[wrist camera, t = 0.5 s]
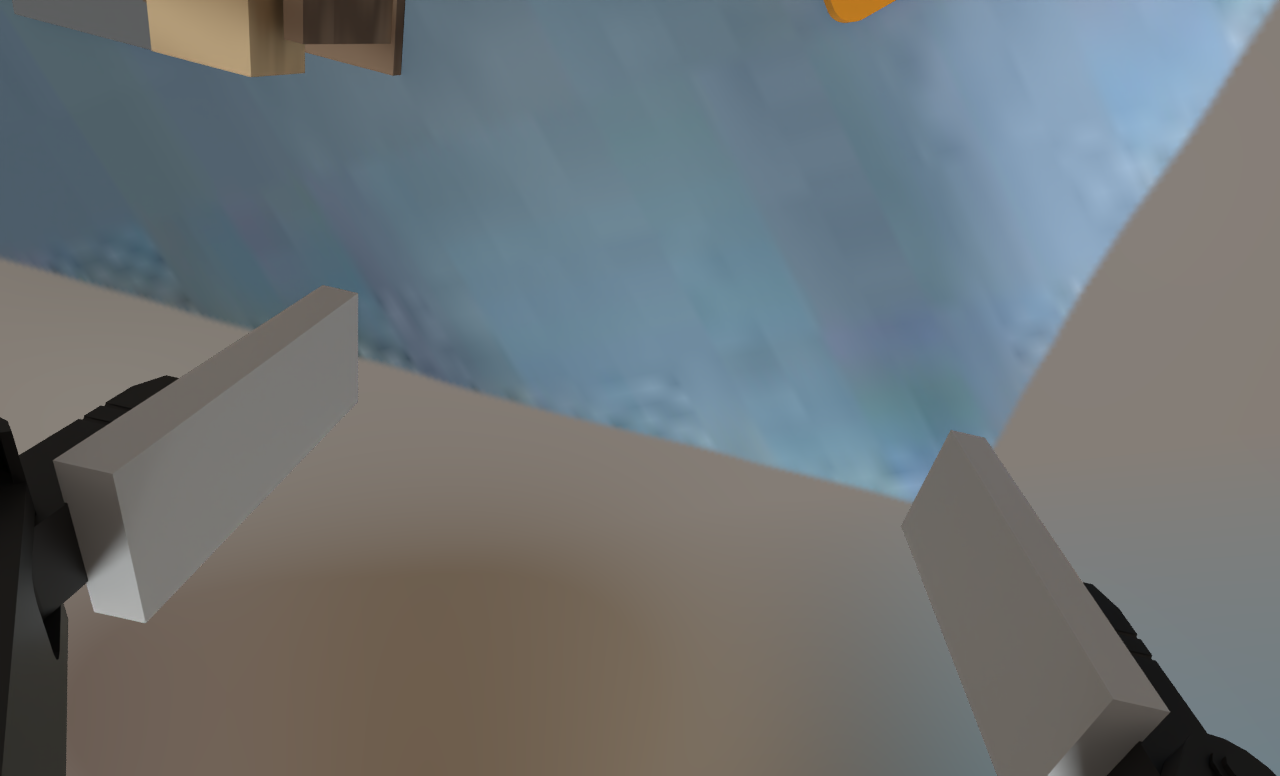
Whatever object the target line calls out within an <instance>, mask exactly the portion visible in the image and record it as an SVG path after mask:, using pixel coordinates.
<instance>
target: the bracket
mask: <svg viewBox="0 0 1280 776" xmlns="http://www.w3.org/2000/svg"><path fill="white" fill-rule="evenodd" d="M143 2H146V3H147V1H146V0H143ZM404 10H405V0H283V20H284V39H285V40H289V41H293V42H296V43H300V44H305V52H306V53H310V54H314V55H317V56H321V57H325V58H329V59H333V60H336V61H340V62H344V63H348V64H351V65H355V66H359V67H363V68H366V69H370V70H374V71H378V72H381V73H385V74H389V75H393V76H394V75H401V61H402V44H403V27H404Z"/></svg>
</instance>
